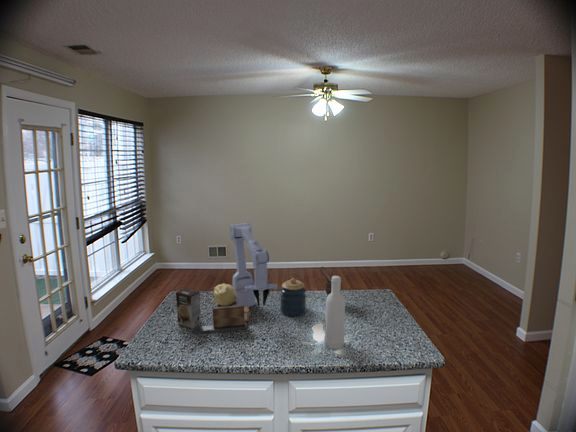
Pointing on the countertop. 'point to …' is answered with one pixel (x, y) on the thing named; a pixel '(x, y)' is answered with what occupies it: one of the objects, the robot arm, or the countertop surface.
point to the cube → (246, 314)
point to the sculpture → (224, 294)
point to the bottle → (335, 316)
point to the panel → (228, 316)
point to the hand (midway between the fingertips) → (261, 304)
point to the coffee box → (188, 307)
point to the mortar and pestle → (328, 281)
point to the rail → (217, 328)
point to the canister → (293, 298)
